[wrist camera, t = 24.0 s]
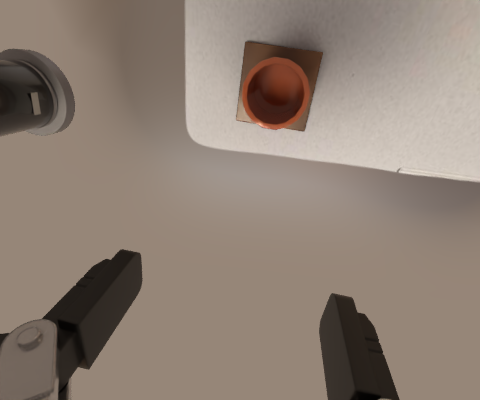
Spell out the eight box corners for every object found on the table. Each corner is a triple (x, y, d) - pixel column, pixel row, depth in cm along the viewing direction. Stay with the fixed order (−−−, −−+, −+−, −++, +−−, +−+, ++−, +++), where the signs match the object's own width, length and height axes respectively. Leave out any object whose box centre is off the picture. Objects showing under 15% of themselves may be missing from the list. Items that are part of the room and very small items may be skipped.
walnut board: (236, 119, 36) (235, 120, 35) (246, 42, 32) (245, 41, 31) (303, 130, 35) (304, 131, 34) (322, 52, 31) (323, 52, 30)
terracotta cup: (247, 112, 34) (238, 123, 27) (255, 56, 31) (246, 52, 24) (297, 120, 34) (300, 134, 27) (309, 64, 31) (317, 62, 24)
